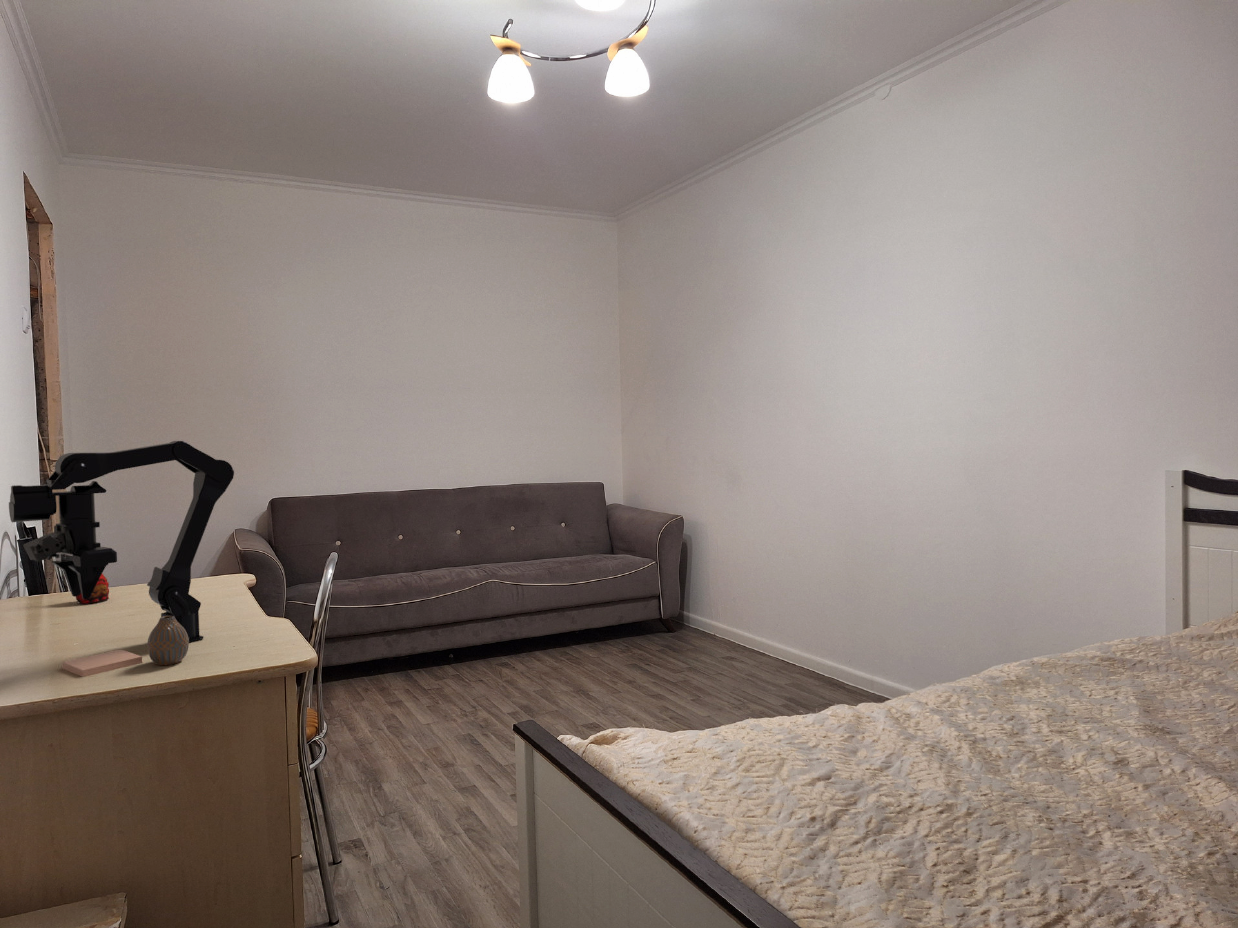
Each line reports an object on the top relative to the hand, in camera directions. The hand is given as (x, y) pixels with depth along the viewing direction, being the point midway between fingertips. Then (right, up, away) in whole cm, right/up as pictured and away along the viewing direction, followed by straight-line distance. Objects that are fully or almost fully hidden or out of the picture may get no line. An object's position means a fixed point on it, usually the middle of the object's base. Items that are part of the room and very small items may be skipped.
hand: (81, 597), depth 154 cm
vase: (+19, -12, -3) cm, 22 cm away
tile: (+3, -12, -2) cm, 12 cm away
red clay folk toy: (-32, -10, +52) cm, 62 cm away
